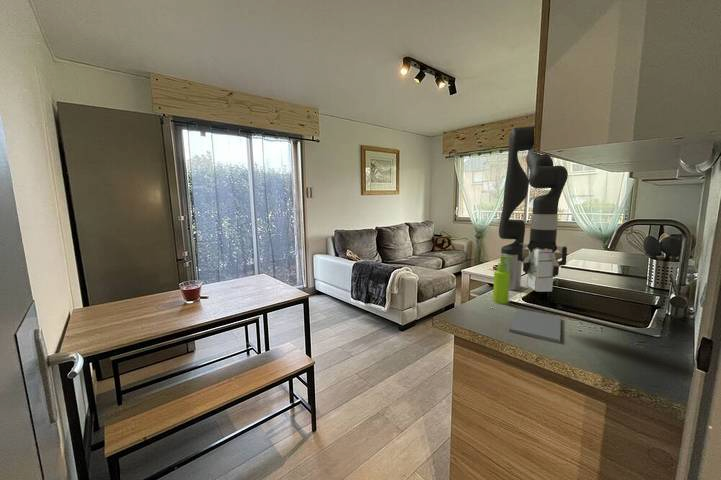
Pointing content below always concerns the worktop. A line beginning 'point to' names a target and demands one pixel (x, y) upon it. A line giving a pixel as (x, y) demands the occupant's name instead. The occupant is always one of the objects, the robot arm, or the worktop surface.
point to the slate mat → (536, 325)
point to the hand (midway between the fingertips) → (539, 274)
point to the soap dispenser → (501, 282)
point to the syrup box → (540, 271)
